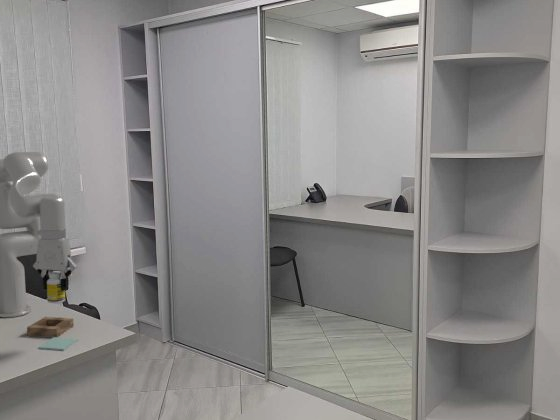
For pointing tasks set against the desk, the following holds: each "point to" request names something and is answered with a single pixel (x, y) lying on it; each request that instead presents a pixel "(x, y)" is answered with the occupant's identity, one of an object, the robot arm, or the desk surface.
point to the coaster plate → (58, 343)
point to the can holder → (50, 327)
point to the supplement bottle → (55, 288)
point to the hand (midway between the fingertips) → (56, 288)
